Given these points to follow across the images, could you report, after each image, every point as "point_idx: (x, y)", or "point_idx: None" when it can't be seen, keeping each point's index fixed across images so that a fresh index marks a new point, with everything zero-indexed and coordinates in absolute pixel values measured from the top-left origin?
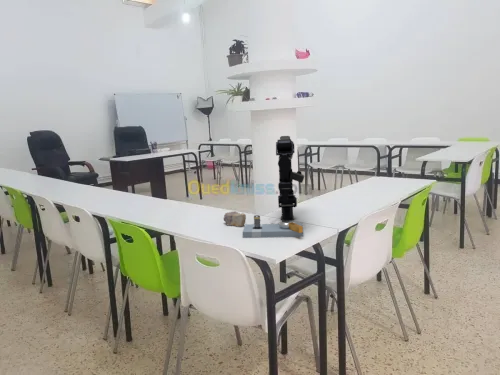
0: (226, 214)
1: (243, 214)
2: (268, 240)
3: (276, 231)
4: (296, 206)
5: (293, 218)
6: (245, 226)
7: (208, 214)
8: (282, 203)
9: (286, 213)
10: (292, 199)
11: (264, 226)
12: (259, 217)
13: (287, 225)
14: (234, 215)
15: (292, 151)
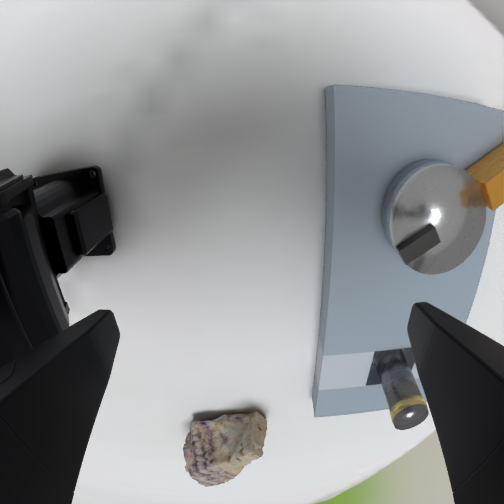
0: (220, 483)
1: (254, 457)
2: (493, 285)
3: (482, 268)
4: (9, 170)
5: (86, 171)
6: (352, 412)
7: (114, 471)
8: (63, 306)
9: (92, 232)
10: (15, 226)
11: (377, 341)
12: (422, 401)
13: (481, 213)
14: (241, 470)
15: None
